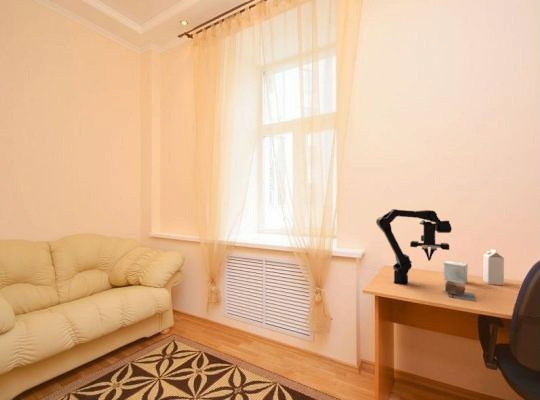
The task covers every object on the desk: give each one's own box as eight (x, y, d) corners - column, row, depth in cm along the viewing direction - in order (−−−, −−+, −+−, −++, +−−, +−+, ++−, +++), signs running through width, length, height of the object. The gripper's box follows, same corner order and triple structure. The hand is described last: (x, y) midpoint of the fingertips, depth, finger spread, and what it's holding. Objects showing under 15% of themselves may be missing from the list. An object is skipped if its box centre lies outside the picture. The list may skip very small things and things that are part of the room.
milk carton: (497, 281, 158) (498, 248, 158) (503, 285, 151) (504, 250, 151) (483, 280, 160) (483, 247, 160) (488, 284, 154) (488, 250, 153)
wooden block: (446, 282, 138) (465, 287, 134) (445, 280, 142) (464, 285, 138) (444, 291, 139) (463, 296, 135) (443, 288, 143) (462, 293, 139)
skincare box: (443, 280, 162) (443, 262, 162) (446, 277, 166) (446, 260, 166) (464, 284, 154) (464, 265, 154) (467, 282, 158) (467, 263, 158)
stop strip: (448, 297, 135) (448, 295, 135) (447, 289, 145) (447, 288, 145) (451, 297, 134) (451, 295, 134) (450, 290, 144) (450, 288, 144)
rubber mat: (453, 297, 134) (453, 297, 134) (452, 290, 144) (452, 290, 144) (476, 301, 129) (476, 301, 129) (473, 293, 139) (473, 293, 139)
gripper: (448, 232, 157) (448, 259, 157) (411, 230, 167) (411, 256, 167) (449, 234, 147) (449, 263, 148) (410, 232, 157) (410, 259, 157)
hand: (429, 260), depth 155 cm, fingers closed
